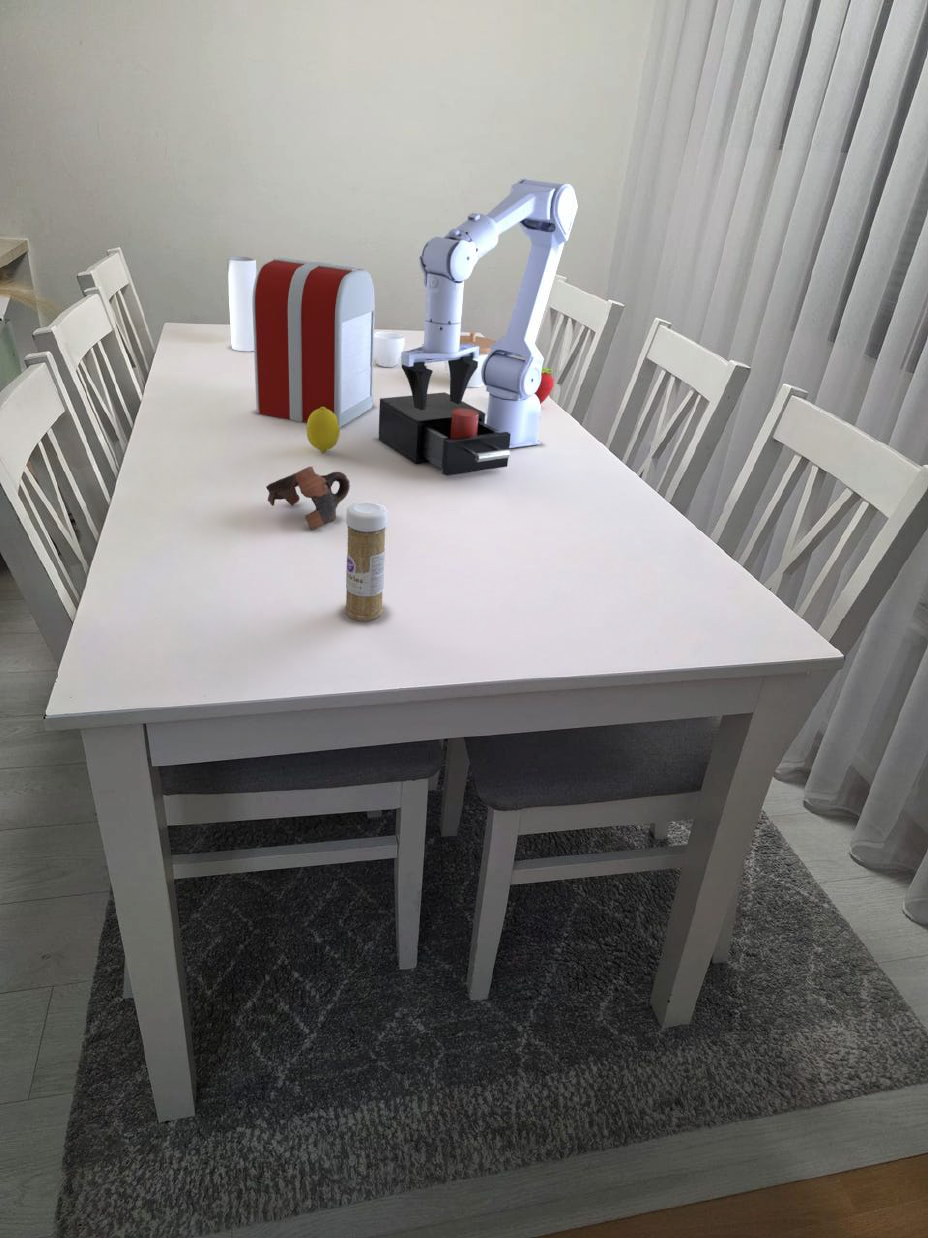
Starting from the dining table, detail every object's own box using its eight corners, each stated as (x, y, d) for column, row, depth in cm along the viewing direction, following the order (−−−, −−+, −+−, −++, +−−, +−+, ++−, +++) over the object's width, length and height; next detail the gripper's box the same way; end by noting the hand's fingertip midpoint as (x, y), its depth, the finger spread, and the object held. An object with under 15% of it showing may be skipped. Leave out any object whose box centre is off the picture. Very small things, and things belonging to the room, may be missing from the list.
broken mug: (295, 539, 122) (269, 484, 120) (277, 542, 131) (253, 490, 129) (369, 505, 127) (345, 451, 125) (347, 509, 135) (324, 459, 133)
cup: (406, 369, 205) (407, 339, 202) (363, 368, 202) (364, 338, 199) (400, 360, 211) (401, 331, 208) (358, 360, 209) (359, 330, 205)
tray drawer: (522, 475, 147) (526, 442, 144) (460, 485, 141) (463, 450, 138) (467, 443, 159) (470, 412, 156) (408, 451, 153) (409, 419, 150)
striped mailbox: (338, 428, 164) (339, 274, 151) (253, 412, 168) (247, 261, 155) (374, 406, 178) (378, 263, 165) (295, 392, 182) (292, 252, 169)
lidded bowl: (506, 383, 201) (511, 333, 196) (478, 394, 192) (482, 342, 186) (460, 372, 207) (464, 323, 201) (430, 382, 197) (433, 331, 192)
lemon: (333, 459, 149) (333, 413, 146) (302, 455, 150) (301, 409, 146) (343, 449, 154) (344, 404, 150) (313, 445, 155) (312, 400, 151)
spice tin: (465, 450, 153) (469, 407, 149) (479, 458, 150) (483, 414, 146) (444, 452, 151) (447, 409, 147) (458, 461, 148) (461, 417, 144)
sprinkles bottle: (337, 612, 105) (337, 506, 98) (364, 599, 108) (367, 496, 101) (364, 626, 102) (366, 519, 96) (391, 613, 105) (396, 508, 99)
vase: (232, 351, 208) (227, 260, 198) (231, 343, 214) (226, 255, 204) (280, 352, 211) (278, 262, 201) (279, 344, 217) (276, 257, 207)
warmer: (481, 454, 157) (485, 413, 154) (415, 464, 151) (417, 420, 147) (442, 431, 167) (444, 392, 163) (378, 439, 160) (379, 398, 157)
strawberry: (542, 402, 190) (548, 355, 185) (555, 412, 184) (562, 364, 179) (516, 402, 189) (521, 354, 184) (529, 412, 182) (534, 364, 177)
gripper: (462, 312, 146) (456, 393, 153) (390, 318, 138) (388, 404, 144) (490, 321, 142) (482, 404, 148) (418, 327, 133) (414, 416, 140)
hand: (437, 405), depth 146 cm, fingers open, 7 cm apart
